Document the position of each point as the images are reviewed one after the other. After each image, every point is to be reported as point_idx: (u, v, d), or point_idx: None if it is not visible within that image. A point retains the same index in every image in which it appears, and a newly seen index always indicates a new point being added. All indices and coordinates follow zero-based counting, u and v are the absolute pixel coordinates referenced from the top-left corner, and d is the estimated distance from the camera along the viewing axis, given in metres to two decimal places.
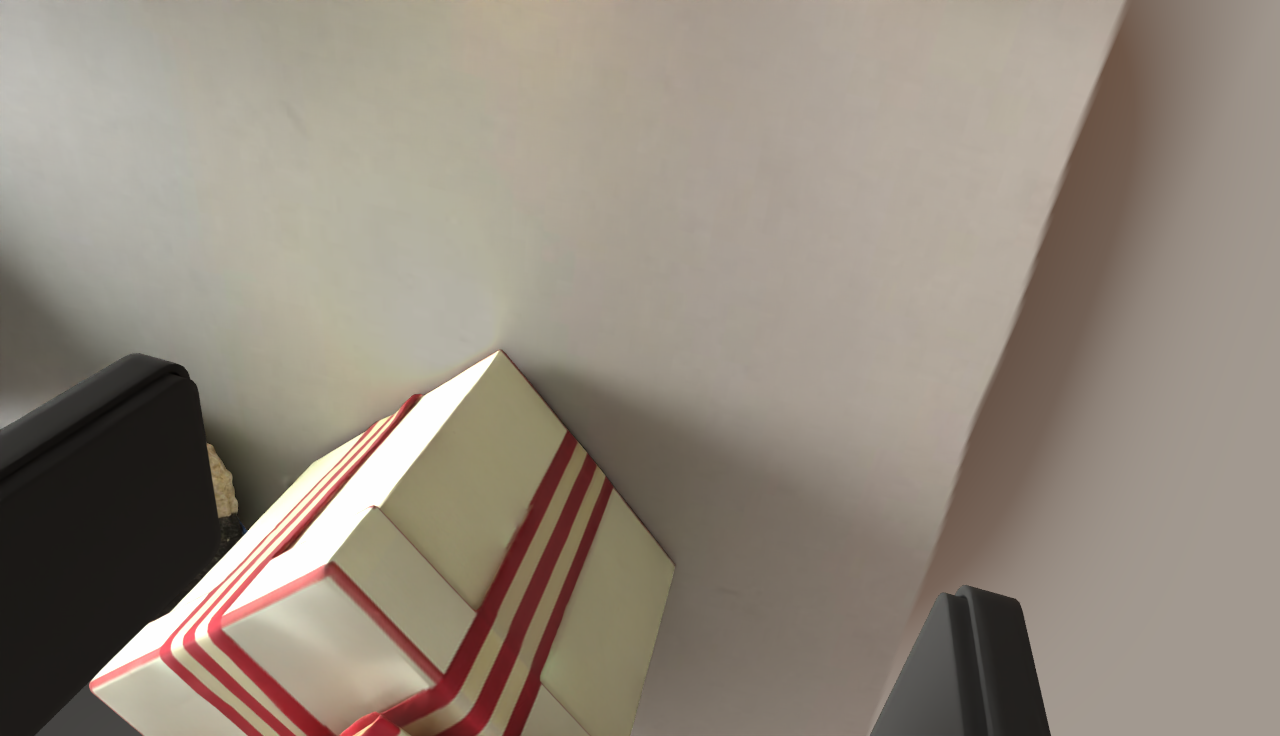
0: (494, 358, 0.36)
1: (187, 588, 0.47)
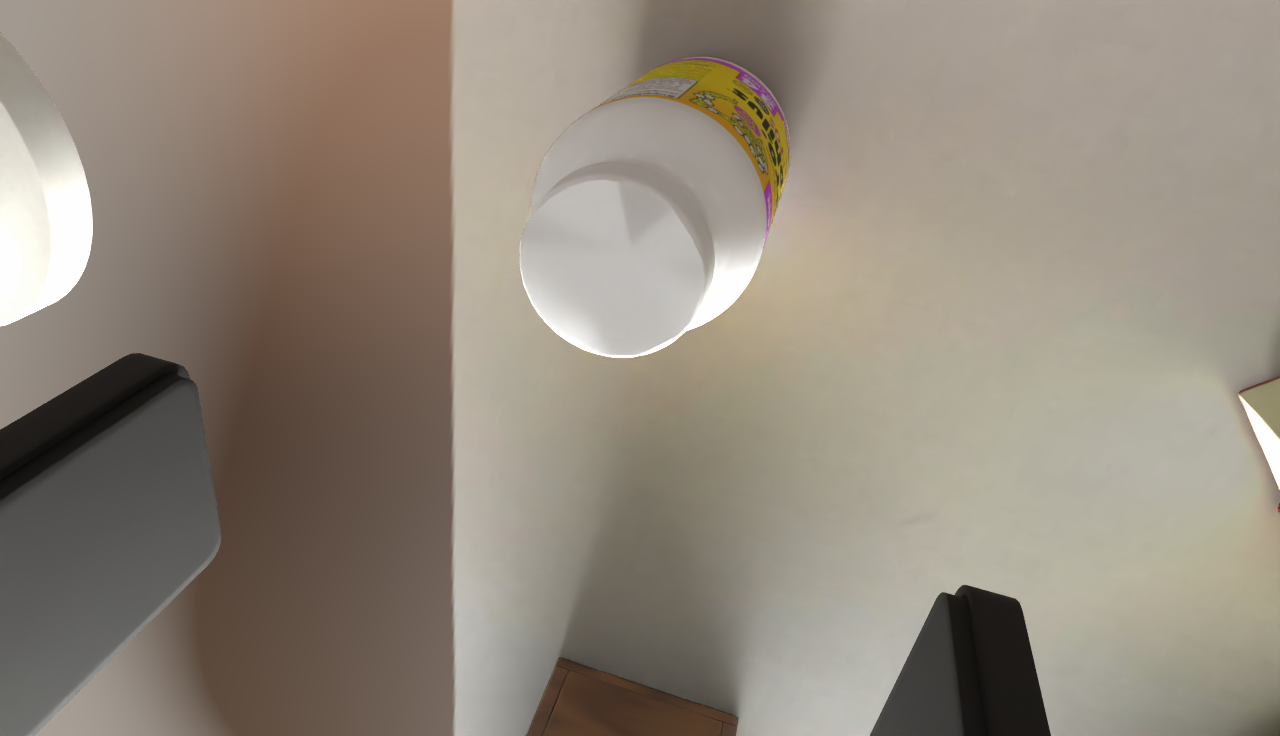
0: (1248, 403, 0.28)
1: None
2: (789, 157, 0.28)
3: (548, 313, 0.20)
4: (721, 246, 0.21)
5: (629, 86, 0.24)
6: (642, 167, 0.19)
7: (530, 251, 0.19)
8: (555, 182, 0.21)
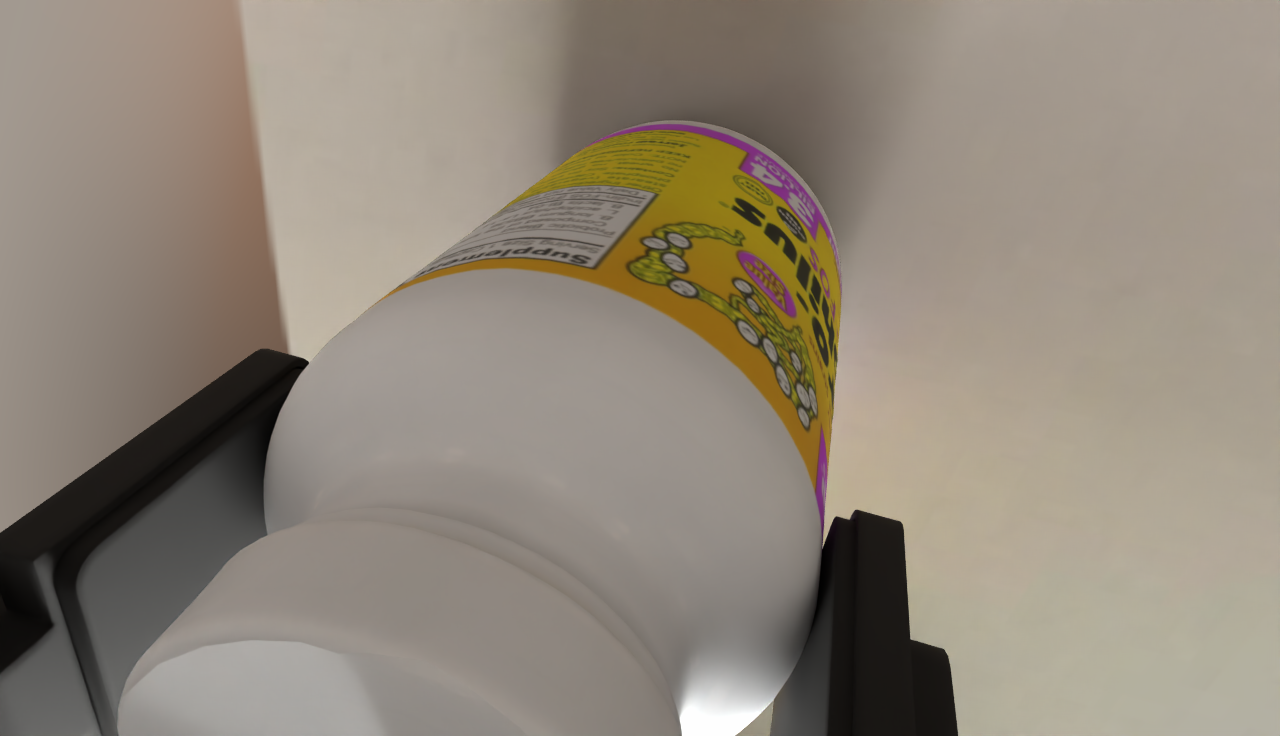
0: None
1: None
2: None
3: None
4: (711, 659, 0.08)
5: (515, 204, 0.12)
6: (453, 550, 0.06)
7: None
8: (290, 488, 0.08)
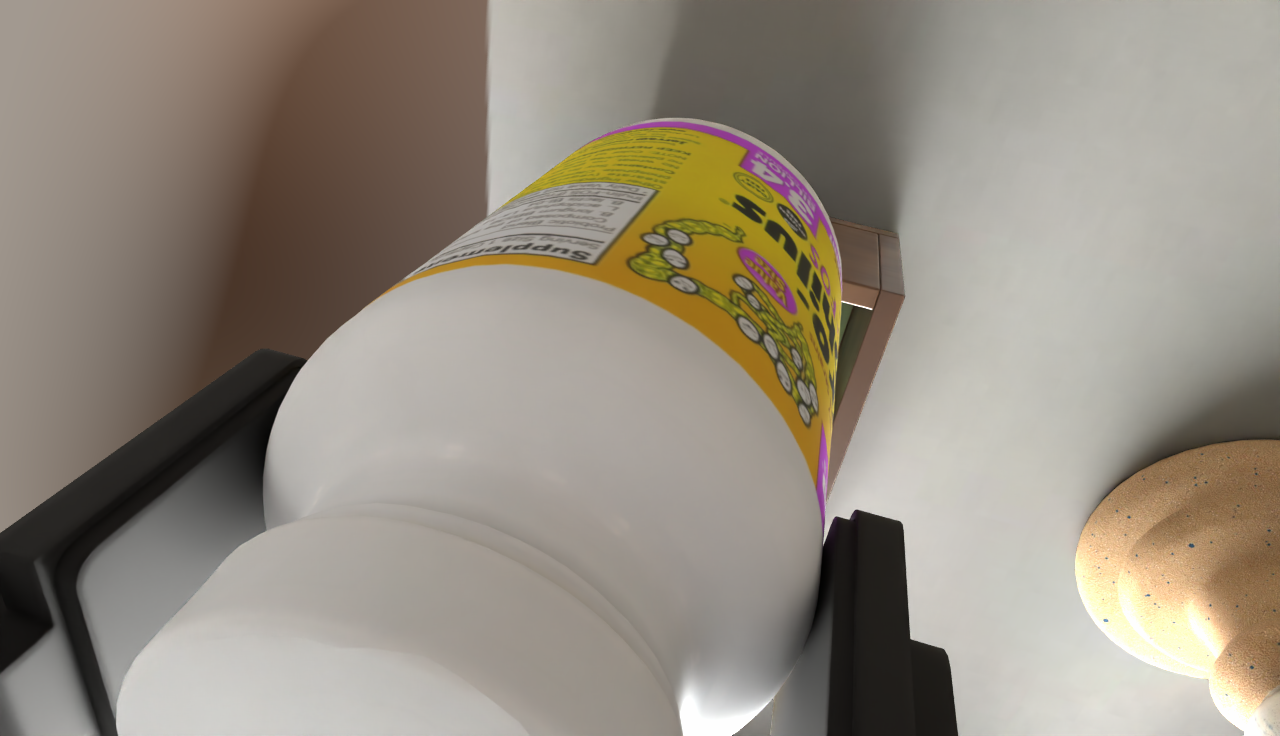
0: None
1: None
2: (841, 298, 0.15)
3: None
4: (712, 656, 0.08)
5: (515, 200, 0.11)
6: (453, 545, 0.06)
7: None
8: (289, 484, 0.08)
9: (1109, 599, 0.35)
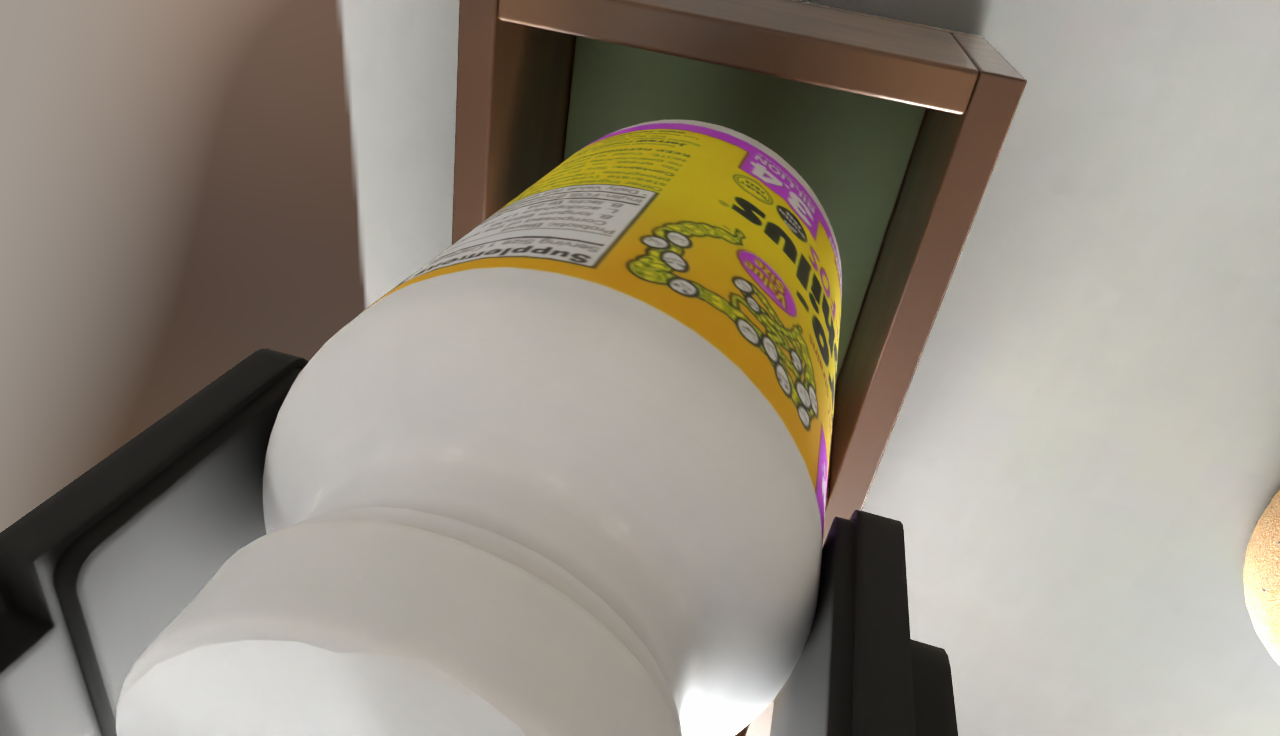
0: None
1: None
2: None
3: None
4: (711, 659, 0.08)
5: (515, 202, 0.11)
6: (453, 549, 0.06)
7: None
8: (289, 487, 0.08)
9: None
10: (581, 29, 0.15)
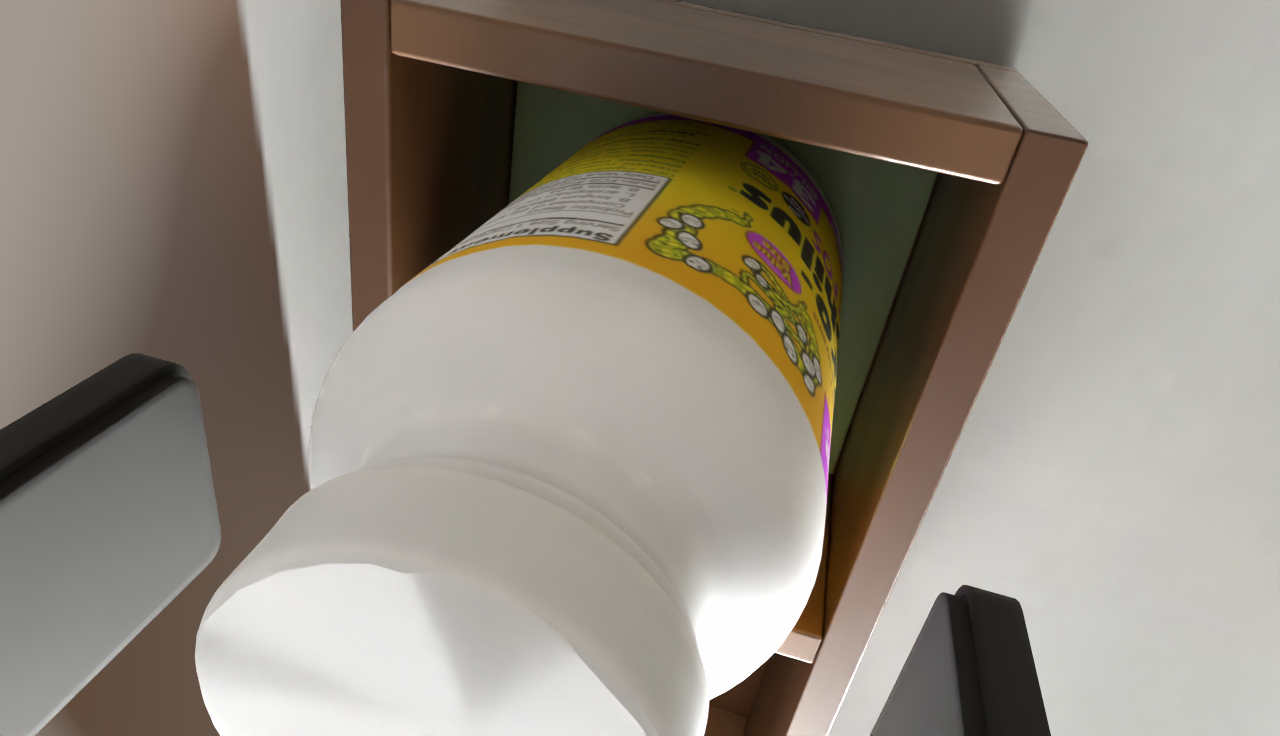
0: None
1: None
2: (842, 283, 0.16)
3: None
4: (726, 601, 0.09)
5: (536, 188, 0.12)
6: (499, 489, 0.07)
7: (223, 692, 0.07)
8: (337, 447, 0.09)
9: None
10: (497, 67, 0.12)
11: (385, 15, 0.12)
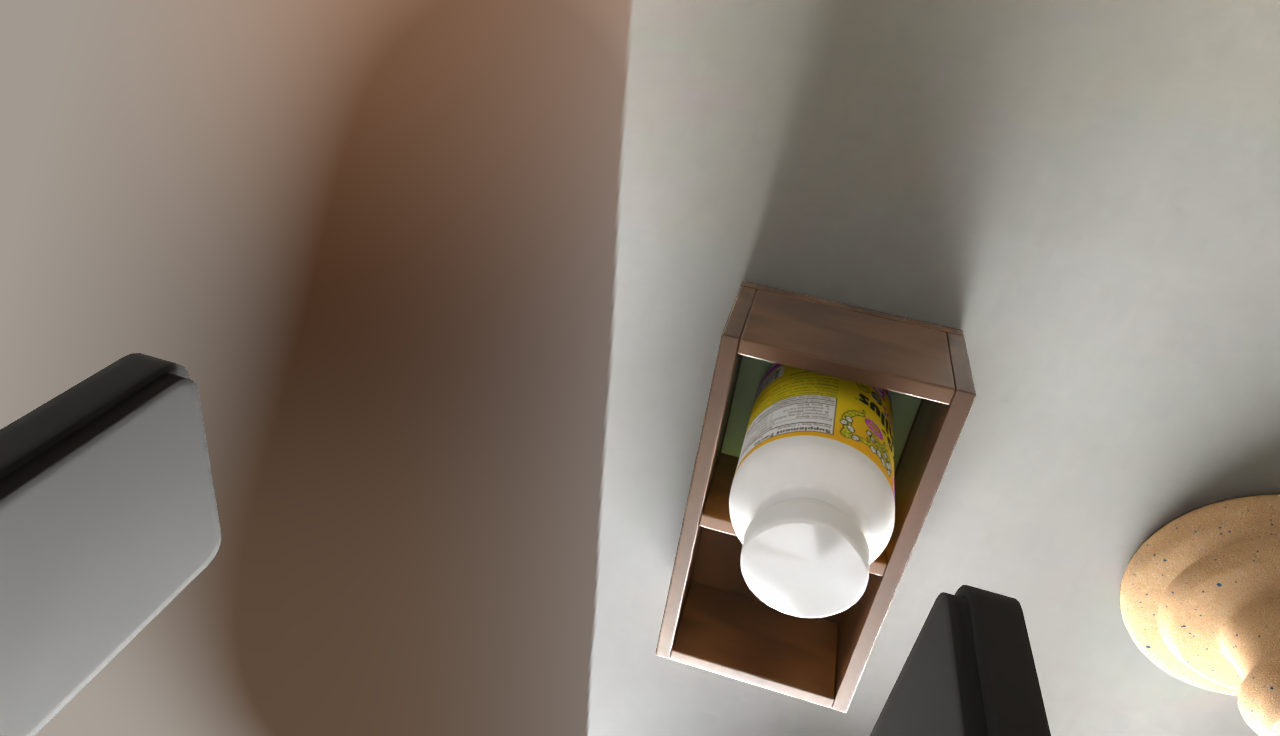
0: None
1: None
2: None
3: (758, 590, 0.30)
4: (868, 537, 0.31)
5: (787, 399, 0.35)
6: (823, 506, 0.29)
7: (749, 557, 0.30)
8: (753, 494, 0.32)
9: (1151, 629, 0.41)
10: (777, 361, 0.34)
11: (737, 343, 0.34)
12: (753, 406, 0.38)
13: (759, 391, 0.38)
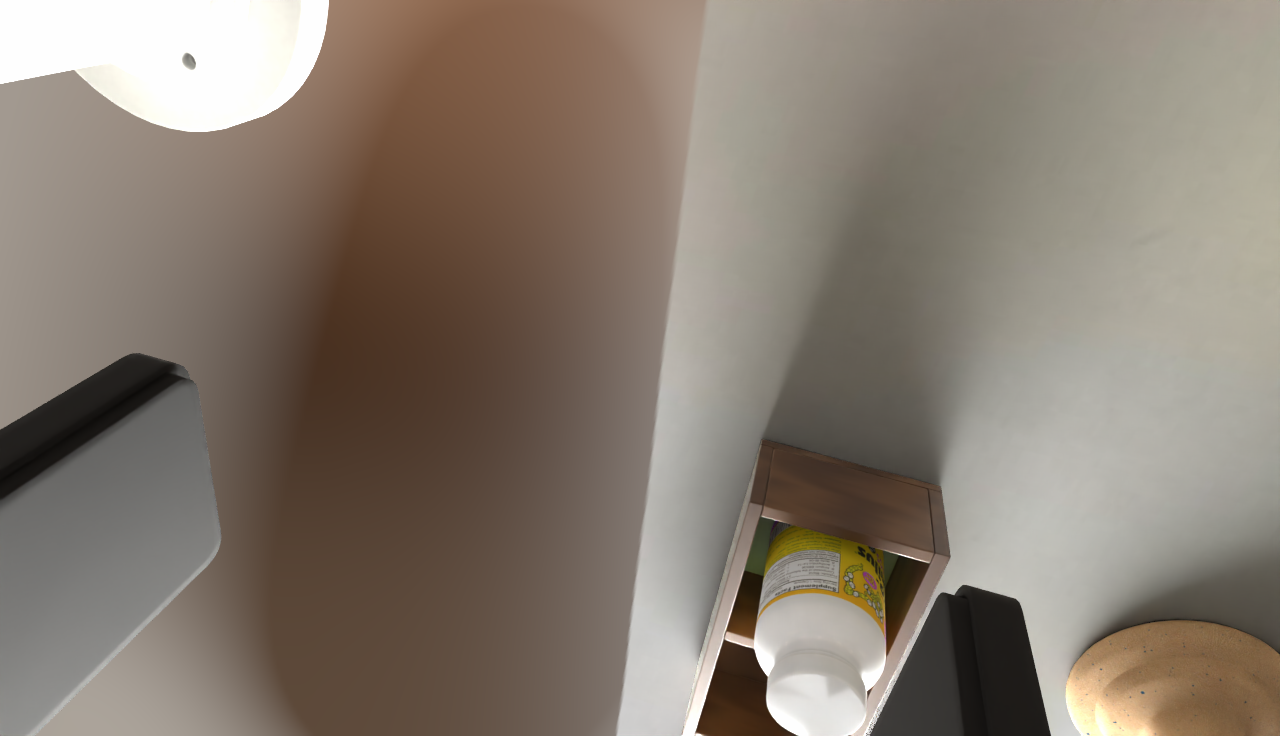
0: None
1: None
2: None
3: (779, 718, 0.39)
4: (865, 675, 0.40)
5: (800, 552, 0.43)
6: (832, 659, 0.38)
7: (773, 695, 0.38)
8: (775, 639, 0.40)
9: (1090, 721, 0.50)
10: (793, 523, 0.43)
11: (761, 509, 0.43)
12: (770, 546, 0.46)
13: (775, 533, 0.47)
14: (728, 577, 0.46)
